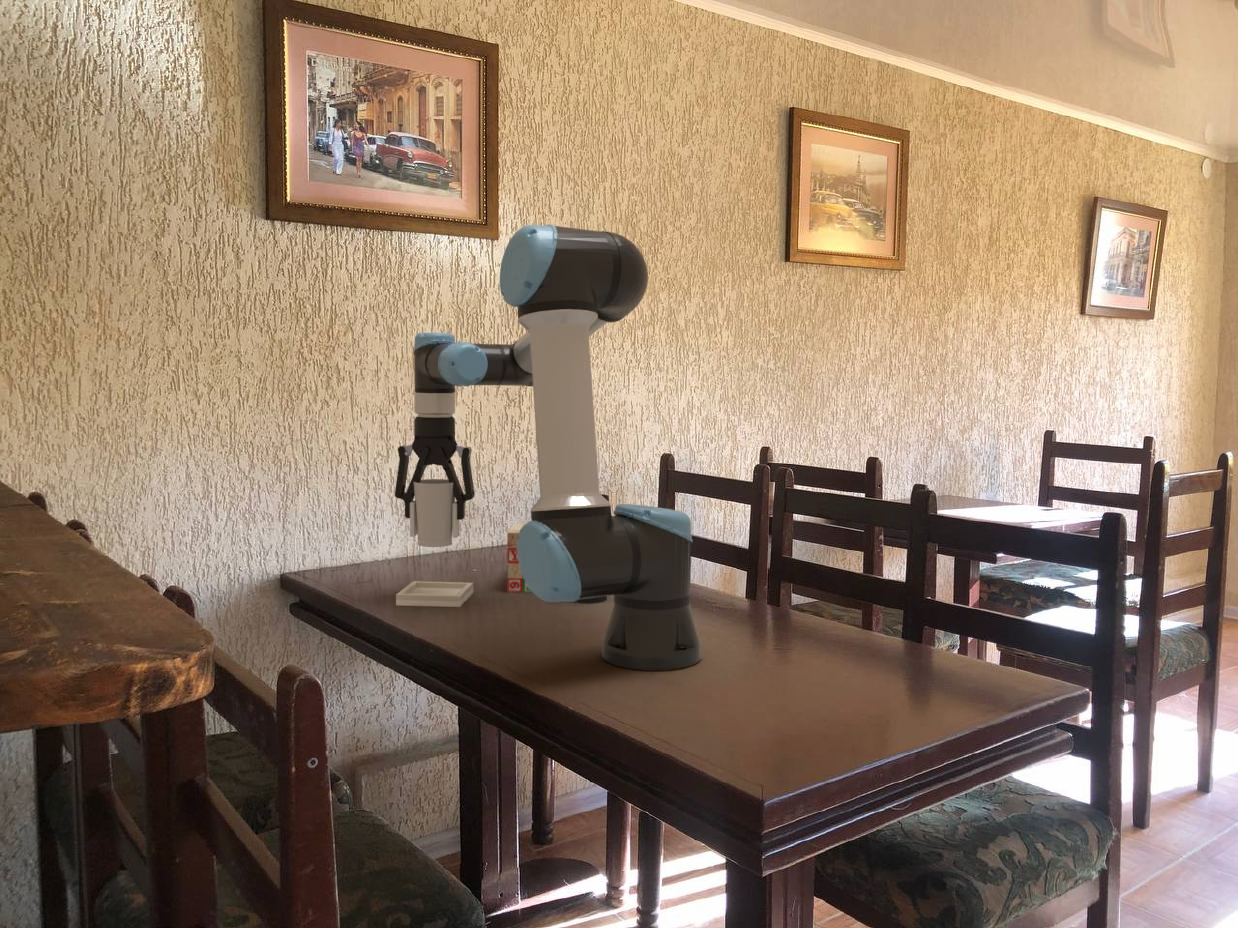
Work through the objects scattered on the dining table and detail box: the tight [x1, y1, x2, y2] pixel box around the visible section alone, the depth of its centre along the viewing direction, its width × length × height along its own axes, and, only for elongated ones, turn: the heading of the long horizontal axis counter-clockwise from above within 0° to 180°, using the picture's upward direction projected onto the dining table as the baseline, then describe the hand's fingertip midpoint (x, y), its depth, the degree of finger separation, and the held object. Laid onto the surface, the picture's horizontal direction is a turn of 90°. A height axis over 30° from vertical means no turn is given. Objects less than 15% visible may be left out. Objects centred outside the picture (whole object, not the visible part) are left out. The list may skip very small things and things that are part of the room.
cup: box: [414, 478, 456, 548], centre depth 187 cm, size 8×8×12 cm
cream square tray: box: [395, 580, 474, 608], centre depth 188 cm, size 12×12×2 cm
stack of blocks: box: [506, 522, 534, 594], centre depth 205 cm, size 21×6×12 cm, turn 0°
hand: (434, 535), depth 187 cm, fingers closed on cup, 7 cm apart
